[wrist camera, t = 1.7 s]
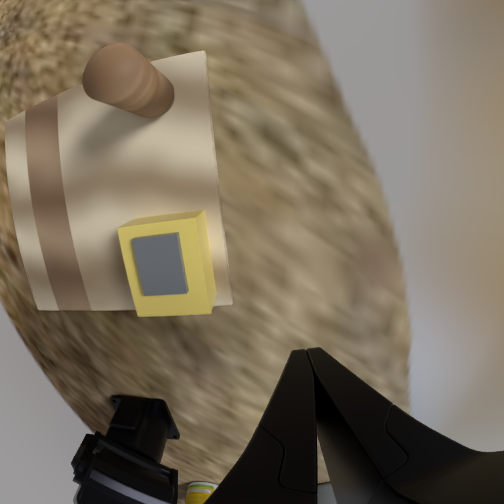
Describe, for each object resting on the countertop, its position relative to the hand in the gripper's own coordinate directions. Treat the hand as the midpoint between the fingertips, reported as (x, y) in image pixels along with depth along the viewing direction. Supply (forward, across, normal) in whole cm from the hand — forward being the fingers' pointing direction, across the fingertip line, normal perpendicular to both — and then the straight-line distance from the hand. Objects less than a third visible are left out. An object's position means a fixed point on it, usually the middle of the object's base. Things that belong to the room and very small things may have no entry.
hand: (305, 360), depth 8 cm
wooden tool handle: (+12, +7, -11) cm, 18 cm away
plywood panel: (+13, +13, -5) cm, 19 cm away
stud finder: (+12, +7, 0) cm, 14 cm away
